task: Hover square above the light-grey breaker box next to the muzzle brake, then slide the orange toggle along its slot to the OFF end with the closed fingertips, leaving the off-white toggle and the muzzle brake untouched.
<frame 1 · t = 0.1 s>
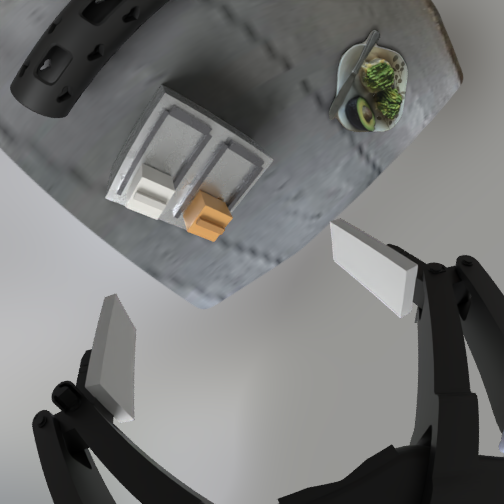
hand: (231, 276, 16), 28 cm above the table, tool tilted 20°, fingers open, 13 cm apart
muzzle brake: (124, 5, 20), on the table
toggle orange: (207, 217, 34), point 10 cm above the table, slide at 0.0 cm
toggle white: (149, 192, 29), point 10 cm above the table, slide at 0.0 cm
salad plate: (367, 89, 40), on the table
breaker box: (181, 151, 37), on the table
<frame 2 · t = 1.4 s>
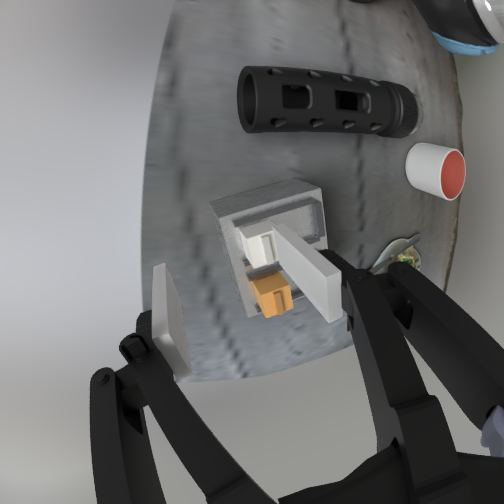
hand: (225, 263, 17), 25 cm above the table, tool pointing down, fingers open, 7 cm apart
cup: (416, 164, 49), on the table
muzzle brake: (320, 104, 39), on the table
toggle orange: (273, 296, 38), point 10 cm above the table, slide at 0.0 cm
toggle white: (262, 244, 34), point 10 cm above the table, slide at 0.0 cm
salad plate: (387, 274, 59), on the table
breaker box: (264, 236, 46), on the table
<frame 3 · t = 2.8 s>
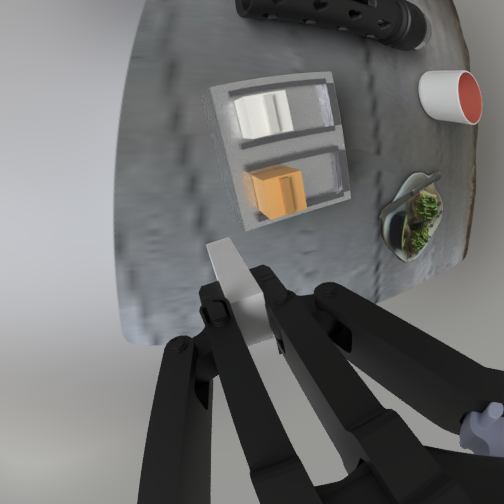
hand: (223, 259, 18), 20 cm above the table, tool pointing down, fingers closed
cup: (430, 95, 39), on the table
muzzle brake: (324, 15, 29), on the table
toggle orange: (280, 191, 28), point 10 cm above the table, slide at 0.0 cm
toggle white: (264, 114, 24), point 10 cm above the table, slide at 0.0 cm
salad plate: (408, 216, 49), on the table
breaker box: (266, 142, 36), on the table
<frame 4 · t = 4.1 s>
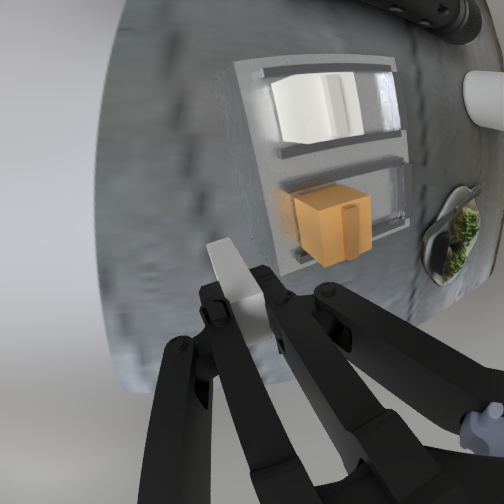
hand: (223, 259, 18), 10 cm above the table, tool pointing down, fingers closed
cup: (472, 97, 30), on the table
toggle orange: (336, 224, 19), point 10 cm above the table, slide at 0.0 cm
toggle white: (319, 106, 15), point 10 cm above the table, slide at 0.0 cm
salad plate: (447, 236, 40), on the table
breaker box: (300, 147, 26), on the table
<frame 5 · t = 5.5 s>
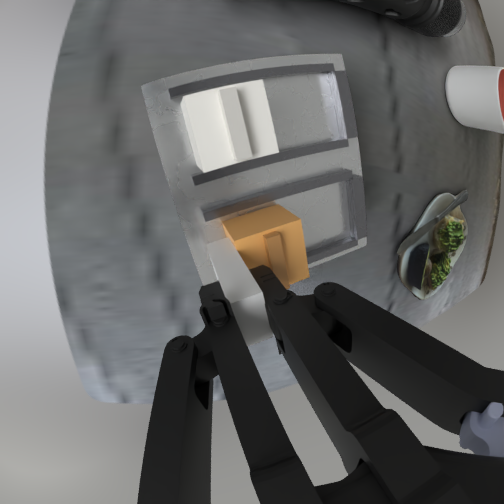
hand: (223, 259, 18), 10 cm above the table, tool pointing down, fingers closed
cup: (457, 95, 29), on the table
toggle orange: (266, 250, 18), point 10 cm above the table, slide at 0.6 cm, touching gripper
toggle white: (227, 124, 14), point 10 cm above the table, slide at 0.0 cm
salad plate: (428, 246, 39), on the table
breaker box: (245, 161, 25), on the table
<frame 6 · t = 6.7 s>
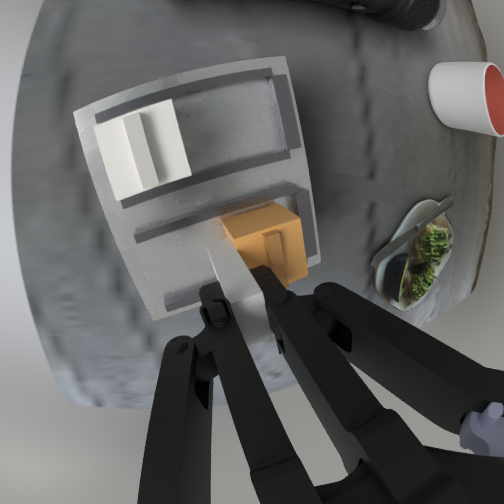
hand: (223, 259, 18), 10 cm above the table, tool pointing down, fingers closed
cup: (442, 94, 28), on the table
toggle orange: (266, 249, 18), point 10 cm above the table, slide at 5.2 cm, touching gripper
toggle white: (144, 148, 13), point 10 cm above the table, slide at 0.0 cm
salad plate: (410, 256, 38), on the table
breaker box: (197, 174, 25), on the table
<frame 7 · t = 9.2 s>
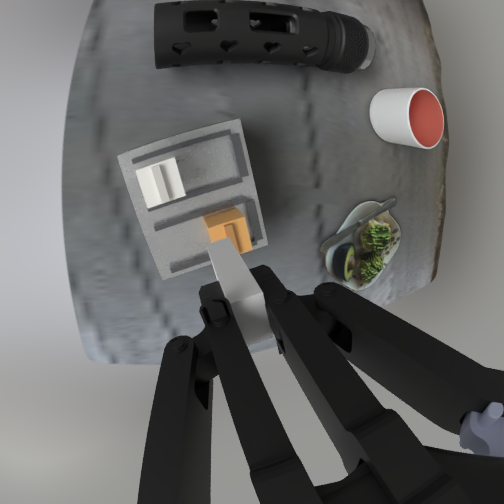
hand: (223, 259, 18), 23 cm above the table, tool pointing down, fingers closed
cup: (385, 115, 42), on the table
muzzle brake: (255, 44, 32), on the table
toggle orange: (228, 234, 31), point 10 cm above the table, slide at 5.2 cm
toggle white: (161, 180, 27), point 10 cm above the table, slide at 0.0 cm
salad plate: (358, 246, 52), on the table
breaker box: (191, 189, 38), on the table
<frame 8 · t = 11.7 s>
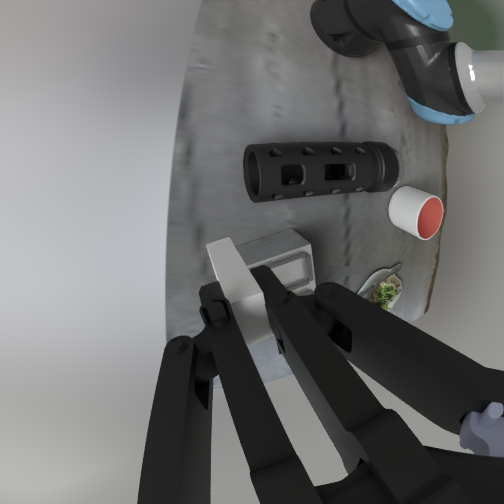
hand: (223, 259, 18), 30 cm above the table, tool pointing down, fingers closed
cup: (399, 204, 60), on the table
muzzle brake: (314, 163, 50), on the table
salad plate: (371, 298, 69), on the table
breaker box: (265, 275, 56), on the table
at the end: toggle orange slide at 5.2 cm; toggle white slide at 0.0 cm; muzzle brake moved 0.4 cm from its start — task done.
